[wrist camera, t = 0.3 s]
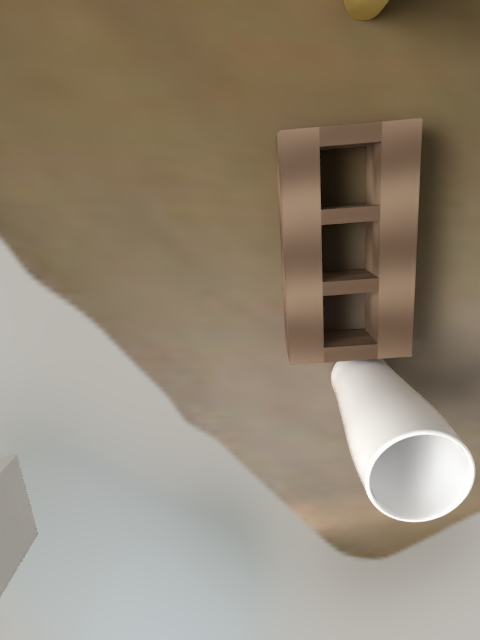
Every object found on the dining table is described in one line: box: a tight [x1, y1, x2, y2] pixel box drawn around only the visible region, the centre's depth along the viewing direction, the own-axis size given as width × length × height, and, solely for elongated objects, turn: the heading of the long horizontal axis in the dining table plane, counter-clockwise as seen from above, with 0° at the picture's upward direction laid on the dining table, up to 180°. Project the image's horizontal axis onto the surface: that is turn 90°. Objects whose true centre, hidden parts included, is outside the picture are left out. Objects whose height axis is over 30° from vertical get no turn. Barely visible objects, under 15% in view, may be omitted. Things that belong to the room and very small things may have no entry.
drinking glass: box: [331, 359, 475, 522], centre depth 33 cm, size 7×7×15 cm
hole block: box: [276, 118, 423, 365], centre depth 34 cm, size 18×10×4 cm, turn 4°
